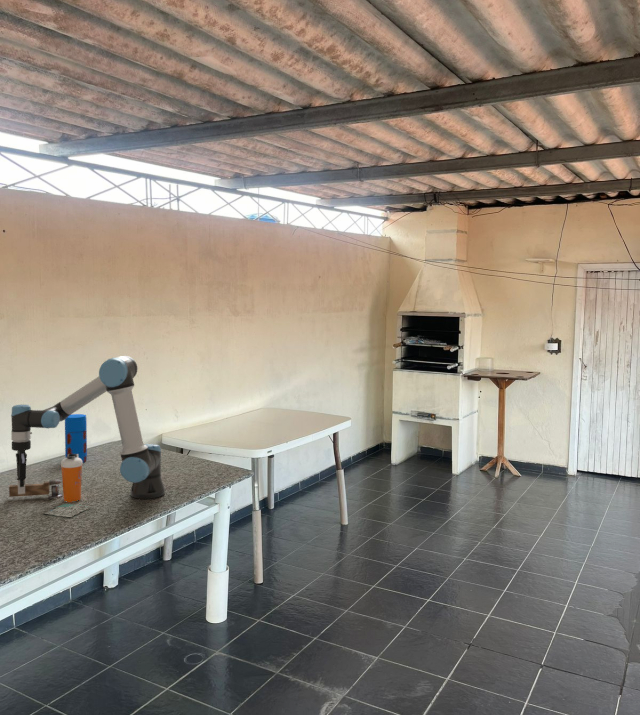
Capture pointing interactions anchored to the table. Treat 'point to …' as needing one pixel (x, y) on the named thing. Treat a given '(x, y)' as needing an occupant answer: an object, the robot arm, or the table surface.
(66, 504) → the mat
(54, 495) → the grey curved piece
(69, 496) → the shaker bottle
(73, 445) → the thermos
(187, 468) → the table surface
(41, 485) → the bar
